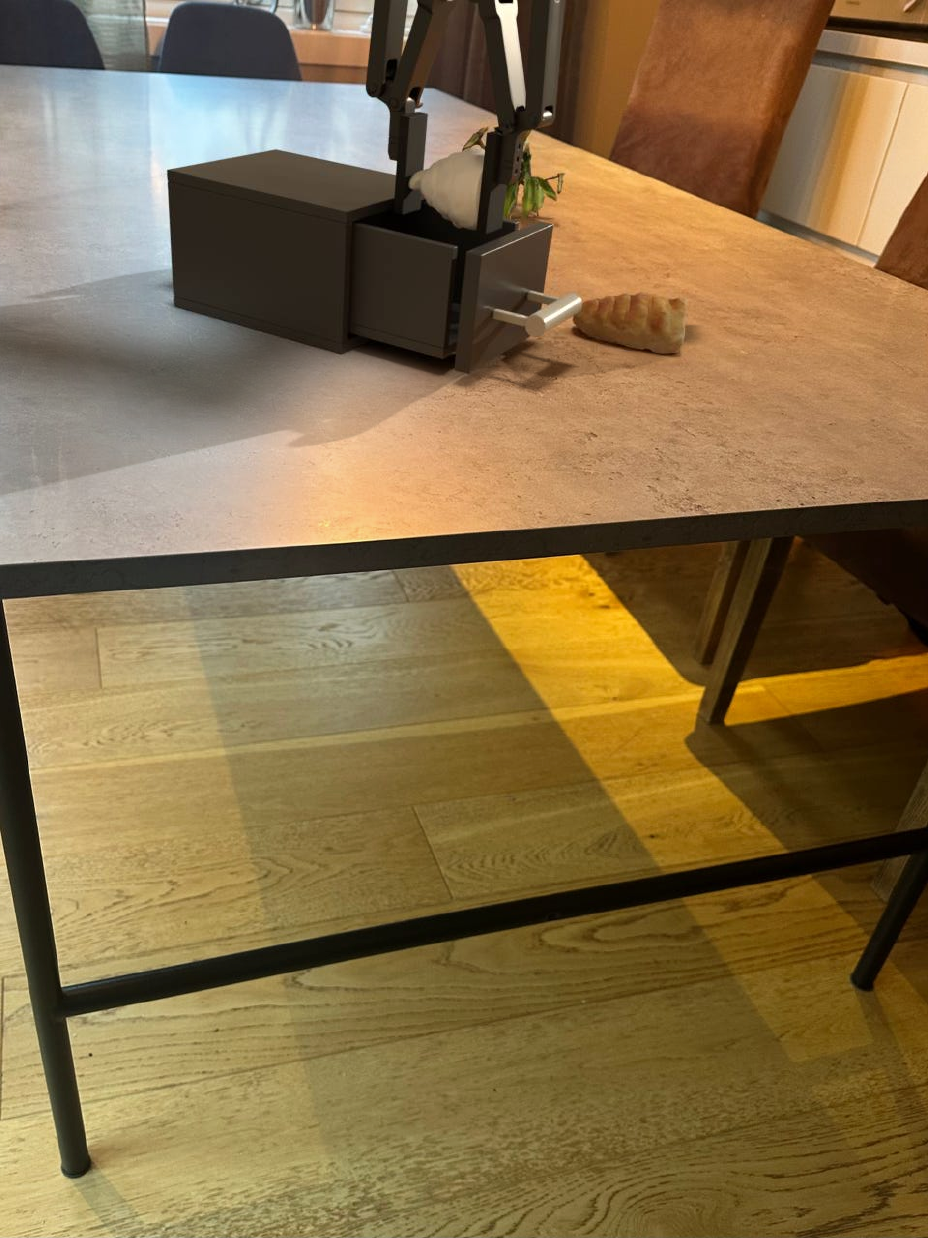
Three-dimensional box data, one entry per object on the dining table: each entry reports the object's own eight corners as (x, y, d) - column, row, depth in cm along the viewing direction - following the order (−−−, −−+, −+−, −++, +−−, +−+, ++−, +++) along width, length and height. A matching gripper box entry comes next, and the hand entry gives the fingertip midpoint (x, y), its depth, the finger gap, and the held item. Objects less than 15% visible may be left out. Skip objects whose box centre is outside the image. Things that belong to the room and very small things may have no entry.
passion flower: (467, 256, 124) (451, 156, 124) (557, 244, 125) (542, 144, 125) (475, 219, 113) (458, 109, 112) (574, 206, 113) (557, 97, 113)
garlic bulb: (427, 209, 79) (434, 131, 76) (499, 225, 77) (509, 146, 74) (392, 221, 75) (398, 139, 72) (467, 239, 73) (476, 155, 70)
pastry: (568, 341, 85) (576, 294, 83) (572, 317, 91) (579, 272, 89) (684, 358, 84) (694, 311, 82) (680, 332, 90) (690, 288, 88)
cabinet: (429, 311, 88) (439, 184, 82) (341, 354, 77) (346, 211, 72) (275, 271, 93) (275, 148, 87) (173, 305, 83) (166, 169, 77)
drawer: (587, 344, 82) (605, 235, 78) (522, 389, 73) (539, 268, 68) (382, 290, 88) (388, 186, 84) (297, 326, 79) (299, 211, 74)
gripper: (317, -199, 63) (308, 201, 76) (610, -172, 57) (546, 258, 70) (381, -182, 69) (362, 187, 82) (653, -156, 63) (587, 239, 76)
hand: (447, 219), depth 76 cm, fingers closed on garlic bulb, 6 cm apart
